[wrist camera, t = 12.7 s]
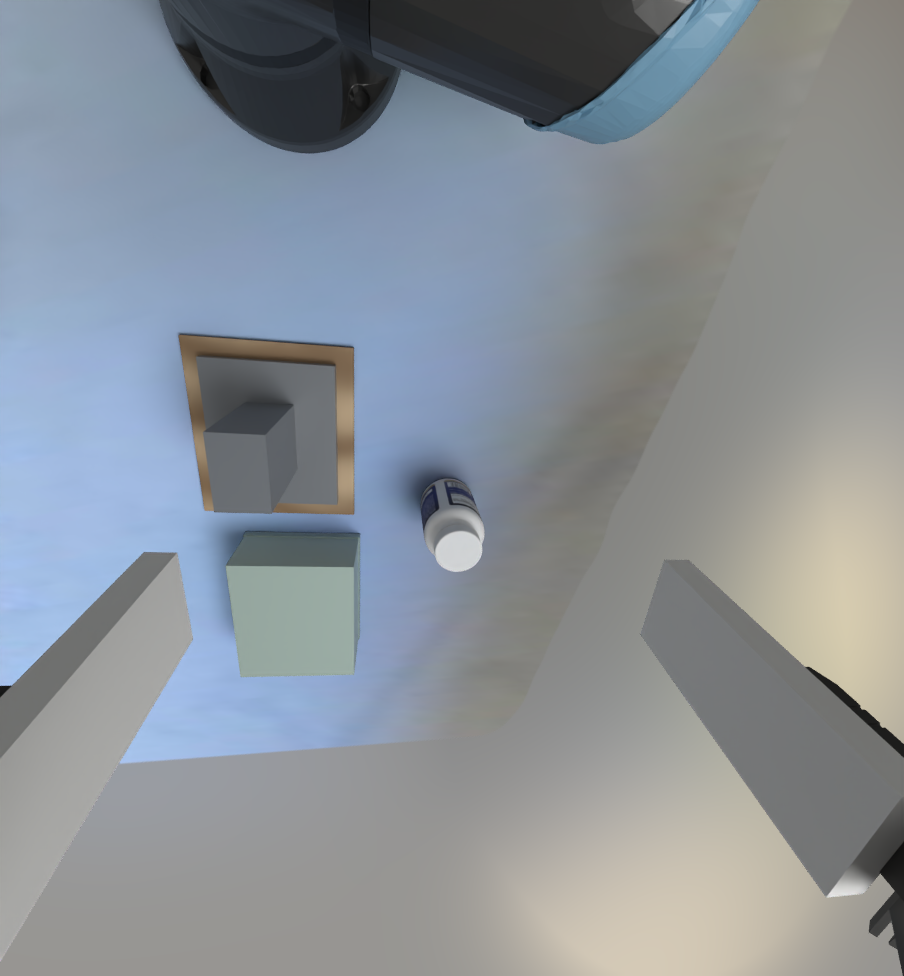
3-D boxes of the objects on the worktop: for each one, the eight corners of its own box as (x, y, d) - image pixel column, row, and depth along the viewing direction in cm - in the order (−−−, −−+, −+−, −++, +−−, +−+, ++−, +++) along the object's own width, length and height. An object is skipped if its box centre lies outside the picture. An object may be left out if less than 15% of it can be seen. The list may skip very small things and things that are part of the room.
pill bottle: (431, 531, 47) (439, 588, 38) (412, 488, 44) (415, 537, 35) (479, 513, 46) (498, 566, 37) (462, 469, 44) (479, 513, 35)
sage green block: (245, 531, 44) (224, 564, 39) (360, 533, 46) (354, 566, 40) (257, 635, 49) (239, 677, 44) (359, 634, 51) (355, 675, 45)
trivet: (180, 334, 36) (178, 334, 36) (353, 347, 38) (353, 348, 38) (206, 508, 43) (204, 510, 42) (354, 512, 45) (353, 514, 44)
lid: (200, 355, 37) (135, 375, 28) (336, 364, 38) (316, 386, 29) (219, 496, 42) (170, 553, 33) (338, 500, 43) (322, 555, 34)
